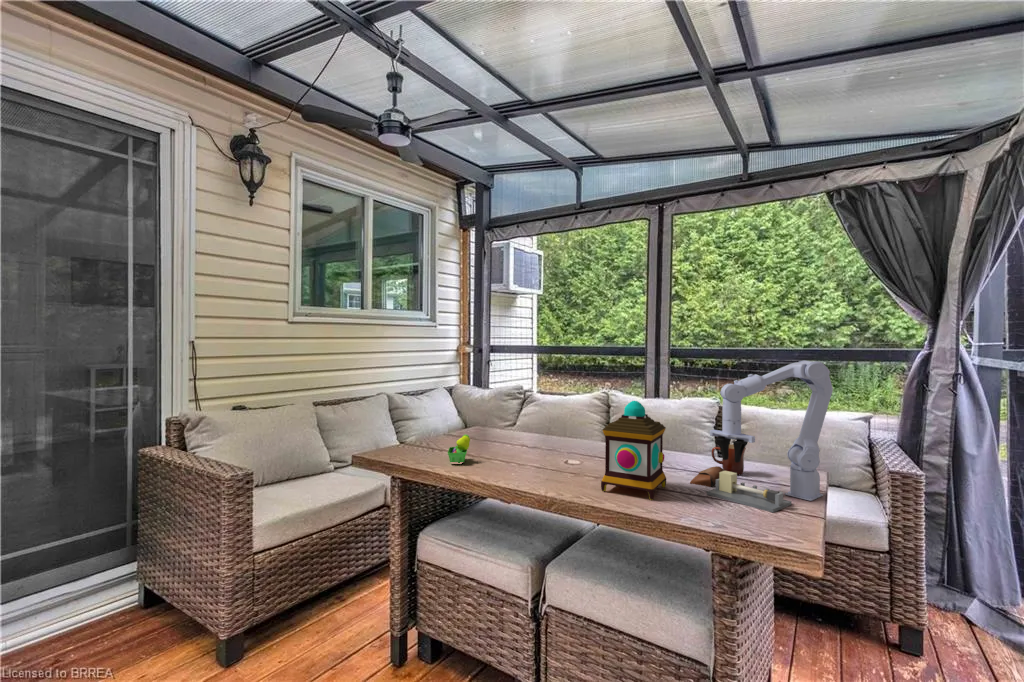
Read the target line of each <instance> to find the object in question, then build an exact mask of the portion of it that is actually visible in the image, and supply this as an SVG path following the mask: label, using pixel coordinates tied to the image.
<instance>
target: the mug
mask: <svg viewBox="0 0 1024 682" xmlns="http://www.w3.org/2000/svg"><path fill="white" fill-rule="evenodd" d="M715 450H718V451H720V452H721V450H720V447H719V446H714V447H712V449H711V458H712V459H713V461H714V462H716V463H717V464H719V465H722V467H721V468H722V469H723V471H729V472H734V473H737V476H741V475H743V474H744V471H745V467H744V466H745V464H744V463H745V460H744V459H745V457H744V456H745V452H746V451H747V448H746V447H745V448H744V450H743V453H742V456H741V459H740V462H738V463H736V462H735V451H734V445H733V443H729V457H728V459H727V460H723V458H722V459H721V460H719V459H717V458H716V457H715Z"/></svg>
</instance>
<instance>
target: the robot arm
mask: <svg viewBox="0 0 1024 682" xmlns="http://www.w3.org/2000/svg"><path fill="white" fill-rule="evenodd" d="M830 374H831V371H830V369H829V368H828V367H827V366H826V365H825V364H824V363H823V362H821V361H818V360H815V361H813V360H812V361H811V360H807V359H806V360H805V359H804V360H799V361H798V362H797V361H796V362H791V363H789V364H787V365H784V366H781V367H780V368H778V369H775V370H773V371H770V372H768V373H766V374H763V375H758V374H756V373H755V374H753V373H749V374H747V377H745V378H742V379H739V380H738V379H736V380H733V383H726V384H724V385H723V386H722V387H721V389H720V391H719V392H720V396H721V398H722V407H721V408H722V411H721V412H722V414H721V417H722V418H721V419H722V421H721V423H722V424H721V425H722V426H721V427H722V428H721V429H722V430H718V429H710V430H709V436H710V437H717V438H715V441H716V443H717V445H718V447H720V450H721V451H720V450H719V451H720V452H721V455H722V459H723V460H727V459H728V457H729V444H731V443H730V442H731V440H733V441H732V444H733V445H734V451H735V462H736V463H738V462H740V459H741V456H742V453H743V450H744V448H745V447H746V446H747V445H748V444H749V443H751V444H754V443H756V437H755V435H751V434H745V433H743V432H742V401H743V399H744V398H746V397H750V396H752V395H755V394H757V393H760V392H763V391H765V389H766V387H767V386H768V385H771V384H773V383H776V382H780V381H784V380H786V379H790V378H797V379H798V378H799V379H800V380H801V381H803V382H804V383H805V384H806V385H807V387H809V389H810V390H811V394H810V398H809V401H808V405H807V408H806V411H805V415H804V417H803V418H804V419H803V420H802V421H803V422H802V424H801V425H802V426H801V429H800V432H799V435H798V437H797V438H795V439H794V440H793V444H792V445H791V447H790V448H788V450H787V453H786V454H787V458H788V460H789V461H790V462H791V463H790V465H789V467H790V470H789V472H790V474H789V484H790V485H789V491H787V492H785V493H784V495H786V496H789V497H793V498H797V499H800V500H801V499H802V500H806V501H815V500H816V499H817V500H818V498H821V497H823V496H824V494H823V493H821V491H820V490H821V487H820V486H821V484H820V483H821V482H820V481H821V475H820V473H819V471H818V470H817V468H818V467H819V466H820V462H821V460H820V456H819V455H820V451H821V450H820V447H819V444H818V441H819V438H820V435H821V432H822V429H823V425H824V421H825V419H826V415H827V411H828V407H829V404H830V400H831V398H832V395H833V391H834V389H833V385H832V380H831V377H830Z"/></svg>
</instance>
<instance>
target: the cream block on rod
mask: <svg viewBox="0 0 1024 682" xmlns="http://www.w3.org/2000/svg"><path fill="white" fill-rule="evenodd" d="M732 483H734V484H738V475H737V473H734V472H729V471H722V472H719V490H721V491H724V492H728V493H732V491H735V492H736V491H737V489H736V488H732Z"/></svg>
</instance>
